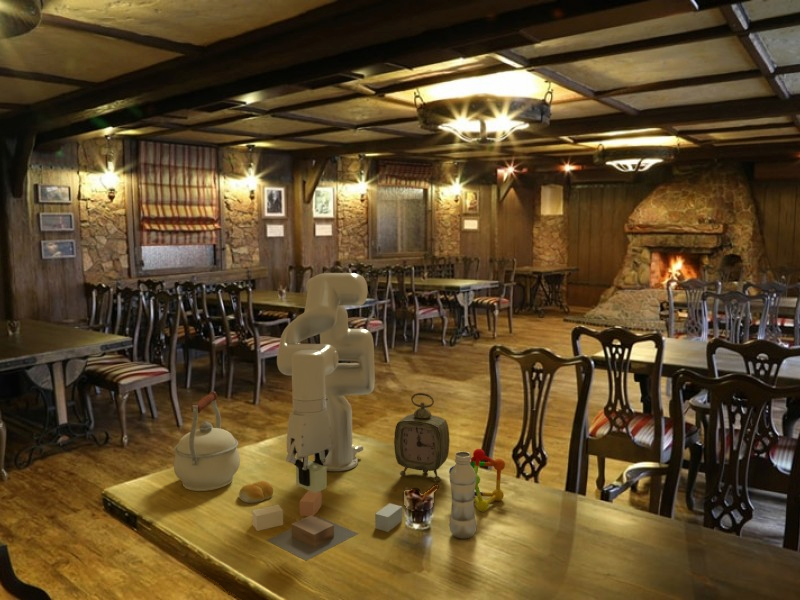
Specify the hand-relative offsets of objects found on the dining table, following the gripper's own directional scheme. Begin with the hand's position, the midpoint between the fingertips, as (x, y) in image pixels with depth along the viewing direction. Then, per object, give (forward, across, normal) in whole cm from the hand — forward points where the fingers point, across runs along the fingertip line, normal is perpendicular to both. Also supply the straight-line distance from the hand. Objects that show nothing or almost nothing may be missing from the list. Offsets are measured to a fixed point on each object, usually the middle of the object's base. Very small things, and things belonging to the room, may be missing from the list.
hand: (311, 481), depth 147 cm
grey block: (+15, -16, +9) cm, 24 cm away
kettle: (+15, -5, -51) cm, 53 cm away
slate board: (+15, 0, 0) cm, 15 cm away
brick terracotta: (+15, -9, -11) cm, 21 cm away
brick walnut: (+14, 0, 0) cm, 14 cm away
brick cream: (+15, +3, -13) cm, 20 cm away
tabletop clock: (+15, -47, -5) cm, 50 cm away
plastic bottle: (+15, -25, +25) cm, 38 cm away
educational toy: (+15, -42, +17) cm, 48 cm away
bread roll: (+15, -7, -31) cm, 35 cm away
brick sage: (+1, 0, 0) cm, 1 cm away
